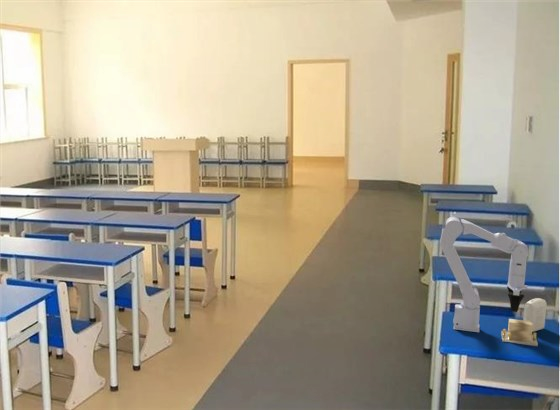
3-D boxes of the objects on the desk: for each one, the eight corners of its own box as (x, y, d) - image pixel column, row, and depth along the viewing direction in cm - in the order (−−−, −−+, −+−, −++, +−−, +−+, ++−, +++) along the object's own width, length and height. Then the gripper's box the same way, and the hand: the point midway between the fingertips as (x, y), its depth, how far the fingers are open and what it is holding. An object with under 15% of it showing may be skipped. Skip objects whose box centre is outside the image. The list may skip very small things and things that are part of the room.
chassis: (502, 341, 216) (502, 333, 216) (501, 332, 225) (502, 324, 224) (537, 346, 213) (538, 337, 212) (535, 337, 221) (536, 329, 221)
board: (508, 337, 218) (509, 322, 217) (507, 333, 222) (509, 318, 221) (531, 340, 215) (532, 325, 214) (530, 336, 219) (532, 321, 218)
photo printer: (536, 325, 234) (539, 295, 232) (545, 328, 230) (549, 298, 228) (520, 330, 228) (523, 299, 226) (530, 333, 224) (533, 302, 222)
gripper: (529, 280, 213) (526, 315, 215) (527, 270, 226) (524, 303, 229) (508, 277, 215) (505, 313, 218) (507, 267, 229) (504, 301, 231)
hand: (513, 308), depth 223 cm, fingers open, 7 cm apart
